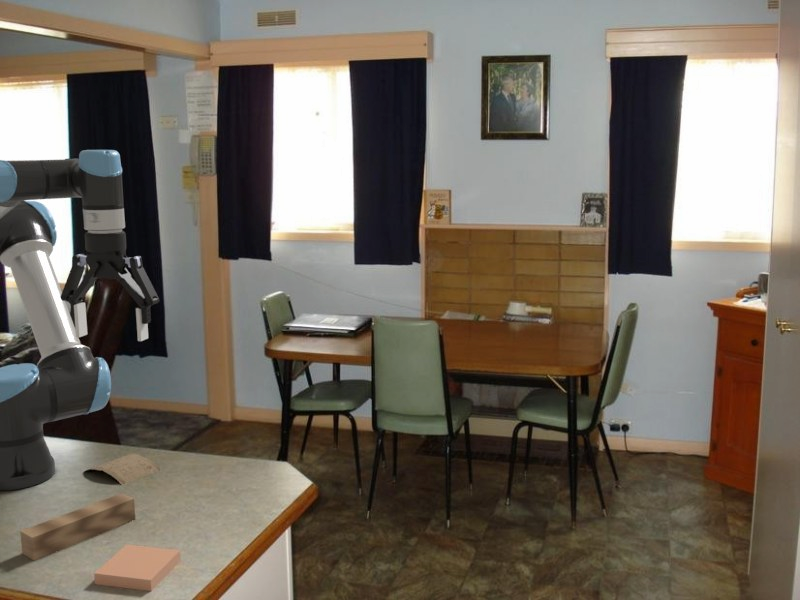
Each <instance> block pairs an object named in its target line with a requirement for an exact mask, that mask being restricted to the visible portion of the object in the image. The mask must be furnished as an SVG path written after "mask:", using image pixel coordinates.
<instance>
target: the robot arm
mask: <svg viewBox="0 0 800 600" xmlns="http://www.w3.org/2000/svg"><path fill="white" fill-rule="evenodd" d="M123 185H124V184H123V167H122V163H121V155H120V153H119V152H118V151H117V150H115V149H86V150H84V149H83V150H81V151H80V152H79V154H78V158H64V159H39V160H38V159H36V160H35V159H31V160H25V159H23V160H22V159H21V160H5V159H4V160H3V159H0V263H1V265H3V266H5V267H7V268H10V270H11V273H12V276H13V279H14V282H15V284H16V288H17V290H18V293H19V297H20V300H21V302H22V304H23V305H22V306H23V309H24V310H25V313H26V317H27V319H28V322H29V325H30V328H31V330H32V334H33V336H34V339H35V342H36V345H37V348H38V351H39V354H40V356H41V357H40V359H39V361H38V362H37V364H34V363H29V362H28V363H27V362H25V363H24V362H23V363H19V364H16V363H14V364H8V365H4V366H2V367H0V491H11V490H12V491H13V490H19V489H20V490H21V489H25V488H29V487H33V486H37V485H38V484H42V483H43V482H46V481H47V480H49V479H51V478H52V477H53V476H54V475H55V473H56V463H55V459H54V457H53V456H52V454H51V451H50V449H49V447H48V445H47V442H46V440H45V436H44V428H43V427H44V424H46V423H52V422H56V421H59V420H64V419H69V418H73V417H77V416H82V415H89V413H93V412H96V411H99V410H102V409H104V408H105V407H106V406H107V404H108V402H109V400H110V396H111V392H112V377H111V371H110V368H109V364H108V363H107V361H106V360H105V359H104V358H103V357H99V356H96V357H94V356H93V353H92V350H91V348H90V347H89V346H86V345H84V344H82V342H81V340H80V339H79V338H81V337H84V336H87V335H88V323H87V322H88V321H87V309H86V302H83V301H84V300H83V299H84V297H85V296H87V294H88V293H89V291H90V289H91V287H93V285H94V283H96V281H97V279H98V280H102V279H107V280H116V282H119V283H120V285H122V287H123V288H124V289H125V291H126V292H127V293H128V294H129V295H130V297H131V298H132V299H133V300H134V302H136V304H137V305H138V307H135V317H136V318H135V319H136V320H135V321H136V331H137V332H136V333H137V341H138V342H143V341H145V340H148V339H149V328H148V327H149V326H148V325H149V324H150V323H151V321H152V318H151V316H152V315H151V314H152V313H151V306H153V305H156V304H158V303H159V302H160V298H159V296H158V293H157V292H156V290H155V288H154V286H153V284H152V281H151V280H150V278H149V276H148V275H147V272H146V270H145V268H144V264H143V258H142V256H141V255H136V256H133V257H128V256H127V254H126V252H127V251H126V250H127V236H126V234H127V233H126V232H125V231H124V230H123V229H125V228H126V221H125V219H126V218H125V207H124V206H125V205H124V191H123V190H124V187H123ZM72 198H81V201H82V215H83V217H82V218H83V229H84V230H85V231H87V232H85V233H84V245H85V246H84V247H85V250H86V252H87V254H86V255H85V254H84V253H79V254H75V255H74V254H73V255H72V258H71V268H70V271H69V273H68V275H67V279H66V281H65V284H64V287H63V289H61V286H60V283H59V280H58V278H57V275H56V273H55V269H54V267H53V264H52V261H51V259H50V256H51V254H52V253H53V251H54V246H56V243H57V238H58V237H57V236H58V235H57V230H56V223H55V220H54V217H53V215H52V213H51V212H50V210H49V209H48V208H47V206H46V205H44V204H43V203H42V202H39V201H35V200H52V199H53V200H54V199H72ZM86 265H87V267H88V268H89V269H88V270H87V272H86V274H85V275H84V278H83V279H82V281H81V282H80V280H81V277H82V275H83V272H84V269H85V266H86ZM127 266H128V268H130V271H131V273H132V274H131V273H130V272H129V270H128V269H127ZM132 275H133V277H134V279H133V277H132ZM79 282H80V284H79ZM67 303H69V305H70V311H69V308H68V305H67Z"/></svg>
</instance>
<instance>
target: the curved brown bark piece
mask: <svg viewBox="0 0 800 600" xmlns="http://www.w3.org/2000/svg"><path fill="white" fill-rule="evenodd" d="M90 470H92V471H93V470H95V471H103V472H104V473H106V474H107V475H110V476H111V477H112V478H113V479H115V480H117V482H119V484H120V485H126V484H125V483H127V484H130V483H131V482H130V481H132V482H134V481H133V480H135V479H137V480H139V479H138V478H140V479H142V478H144V476H145V477H147V476H149V474H150V475H152V474H154V473H158V472H160V471H161V469H160V467H159V465H157V464H156V463H155V462H154V461H153V460H150V458H147V457H144V456H142V455H139V454H135V453H128V454H126V455H124V456H121V457H119V458H116V459H113V460H111V461H107V462H104V463H102V464H100V465H97V466H93V467H91V468H88V469H86V470H84V472H89V471H90ZM157 471H158V472H157ZM151 473H152V474H151ZM146 475H147V476H146ZM141 477H142V478H141ZM135 481H136V480H135ZM129 482H130V483H129Z"/></svg>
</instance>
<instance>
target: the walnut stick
mask: <svg viewBox="0 0 800 600" xmlns="http://www.w3.org/2000/svg"><path fill="white" fill-rule="evenodd" d="M132 520H133V521H136V509H135V498H133V497H131V496H129V495H127V494H125V493H119V494H116V495H114V496H110V497H108V498H105V499H103V500H100V501H97V502H95V503H91V504H89V505H87V506H84V507H81V508H79V509H76V510H73V511H70V512H68V513H65V514H62V515H60V516H57V517H55V518H52V519H49V520H46V521H43V522H40V523H39V524H36V525H33V526H30V527H27V528H25V529H22V530H20V531H19V534H20V543H21V544H20V545H21V554H23V555H24V556H26V557H27V558H29V559H31V560H33V561H37V560H39V559H40V560H41V558H44V557H46V556H49V555H52V554H54V553H56V551H57V552H60V551H62V550H63V549H64V550H65V549H67V548H69V547H71V545H72V546H75V545H77V544H78V542H79V543H81V541H82V542H84V541H87V540H88V538H89V539H91V538H94V537H96V536H99V535H101V534H103V532H104V533H106V532H109V531H110V530H113V528H114V529H116V528H119V527H121V526H123V525H125V523H126V524H128V523H130V521H131V522H133V521H132ZM127 522H128V523H127ZM118 526H119V527H118ZM108 530H109V531H108ZM98 534H99V535H98ZM93 536H94V537H93ZM90 537H91V538H90ZM83 540H84V541H83ZM76 543H77V544H76ZM68 546H69V547H68ZM66 547H67V548H66ZM61 549H62V550H61Z"/></svg>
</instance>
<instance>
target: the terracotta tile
mask: <svg viewBox="0 0 800 600" xmlns="http://www.w3.org/2000/svg"><path fill="white" fill-rule="evenodd" d="M180 562H181V550H178V549H177V550H176V549H170V548H169V549H168V548H161V547H154V546H153V547H151V546H142V545H133V544H125V545H124V546H123V547H122V548H121V549H120V550H119V551H118V552H117V553H116V554H114V555H113V556H112V557H111V558H110V559H109V560H108V561H106V562H105V563H104V564H103V565H102V566H101V567H100V568H99V569H97V570H96V571H95V572H94V576H93V577H94V585H100V586H107V587H116V588H124V589H131V590H133V589H134V590H138V591H139V590H140V591H148V592H152V591H154V589H155V588H156V587H158V585H159V584H160V583H161V582H162V581H163V579H165V578H166V577H167V576H168V574H170V572H171V571H173V570H174V569H175V567H176V566H177V565H178V564H179V563H180Z"/></svg>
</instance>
